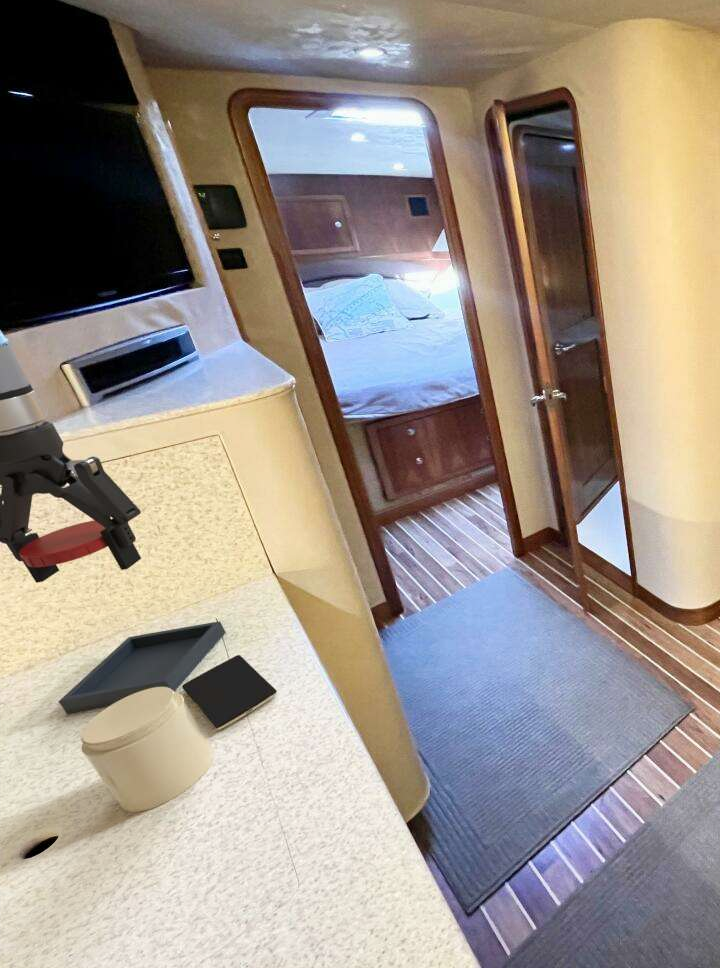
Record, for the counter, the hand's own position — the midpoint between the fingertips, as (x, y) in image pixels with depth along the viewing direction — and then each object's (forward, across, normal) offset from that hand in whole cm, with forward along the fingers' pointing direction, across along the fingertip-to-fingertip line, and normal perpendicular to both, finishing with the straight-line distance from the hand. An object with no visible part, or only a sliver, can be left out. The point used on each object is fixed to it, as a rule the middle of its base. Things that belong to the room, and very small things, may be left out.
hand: (90, 570), depth 78 cm
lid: (-5, 0, 0) cm, 5 cm away
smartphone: (+21, -15, +7) cm, 27 cm away
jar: (+21, -15, +21) cm, 33 cm away
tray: (+21, +2, -2) cm, 21 cm away
